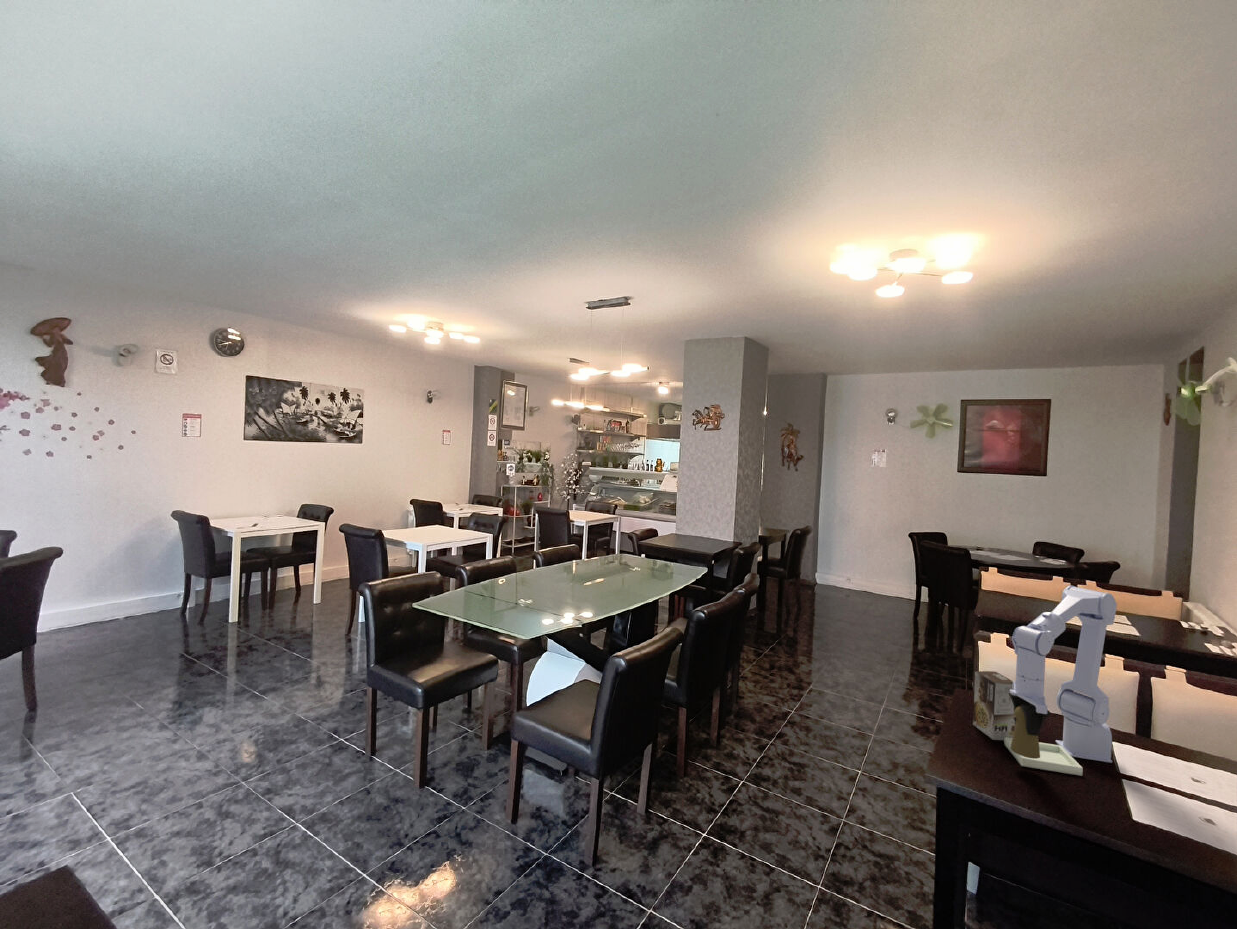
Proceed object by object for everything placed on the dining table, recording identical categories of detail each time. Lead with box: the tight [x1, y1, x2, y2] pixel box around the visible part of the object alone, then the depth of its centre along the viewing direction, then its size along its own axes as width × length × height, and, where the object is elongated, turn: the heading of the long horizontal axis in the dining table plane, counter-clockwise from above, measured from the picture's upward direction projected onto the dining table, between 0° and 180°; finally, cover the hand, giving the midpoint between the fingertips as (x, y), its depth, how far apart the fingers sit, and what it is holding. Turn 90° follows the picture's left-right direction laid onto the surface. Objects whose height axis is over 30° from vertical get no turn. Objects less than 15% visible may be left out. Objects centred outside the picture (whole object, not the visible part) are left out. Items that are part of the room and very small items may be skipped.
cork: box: [1011, 706, 1040, 759], centre depth 138 cm, size 6×6×11 cm
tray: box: [1003, 737, 1084, 777], centre depth 143 cm, size 13×11×2 cm
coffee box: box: [972, 670, 1016, 741], centre depth 156 cm, size 9×6×16 cm
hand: (1027, 729), depth 138 cm, fingers closed on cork, 5 cm apart
